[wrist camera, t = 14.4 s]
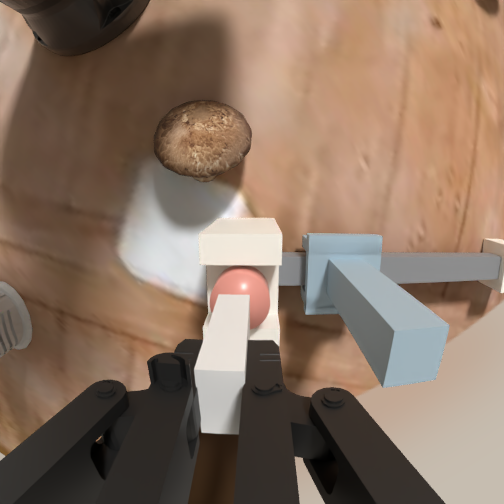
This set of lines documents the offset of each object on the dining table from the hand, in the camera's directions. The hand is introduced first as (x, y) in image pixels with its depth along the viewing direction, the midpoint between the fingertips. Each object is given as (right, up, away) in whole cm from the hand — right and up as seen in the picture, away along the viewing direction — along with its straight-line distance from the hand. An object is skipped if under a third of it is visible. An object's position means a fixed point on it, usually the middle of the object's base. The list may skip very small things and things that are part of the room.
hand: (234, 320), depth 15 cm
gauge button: (0, +1, +6) cm, 6 cm away
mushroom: (-3, +13, +12) cm, 19 cm away
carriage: (+8, +2, +13) cm, 15 cm away
